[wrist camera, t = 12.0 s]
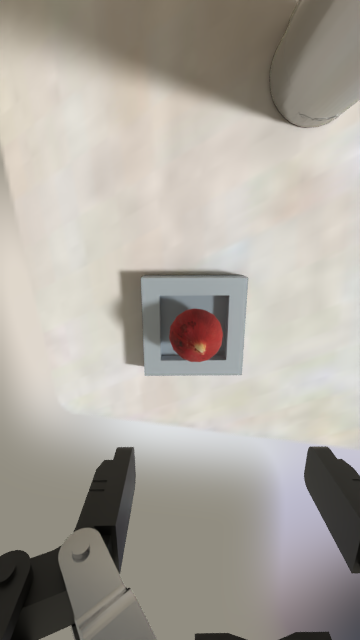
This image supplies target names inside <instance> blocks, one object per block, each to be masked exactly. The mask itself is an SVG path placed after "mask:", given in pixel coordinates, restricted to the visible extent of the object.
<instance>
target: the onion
mask: <svg viewBox="0 0 360 640" xmlns="http://www.w3.org/2000/svg"><path fill="white" fill-rule="evenodd" d="M222 337H223V332H222V328H221V324H220V322H219V321H218V319H217V318H216V317H215V316H214V314H212V313H210V312H208V311H206V310H203V309H195V308H194V309H190V310H185V311H184V312H182V313H181V314H179V315H178V316H177V317H176V319H175V320H174V322H173V323H172V325H171V326H170V334H169V339H170V342H171V345H172V347H173V350H174V351H175V352H176V353H177V354H178V355H179V356H180V357H181V358H183V359H185V360H187V361H190V362H202V361H206V360H209V359H210V358H212V357H213V356H214V355H215V354H216V353H217V352H218V350H219V348H220V346H221V345H222Z"/></svg>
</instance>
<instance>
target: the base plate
mask: <svg viewBox="0 0 360 640" xmlns="http://www.w3.org/2000/svg"><path fill="white" fill-rule="evenodd" d="M247 289H248V277H246V276H243V275H144V276H142V277H141V293H142V318H143V344H144V369H145V376H172V375H242V364H243V349H244V334H245V319H246V304H247ZM194 308H195V309H203V310H206V311H208V312H210V313H212V314H214V316H215V317H216V318H217V319H218V321H219V322H220V324H221V328H222V332H223V337H222V345H221V346H220V348H219V350H218V352H217V353H216V354H215V355H214V356H213V357H212V358H210V359H209V360H206V361H202V362H190V361H187V360H185V359H183V358H181V357H180V356H179V355H178V354H177V353H176V352H175V351H174V350H173V347H172V345H171V342H170V339H169V334H170V326H171V325H172V323H173V322H174V320H175V319H176V317H177V316H178V315H179V314H181V313H182V312H184V311H185V310H190V309H194Z"/></svg>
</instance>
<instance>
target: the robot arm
mask: <svg viewBox="0 0 360 640" xmlns="http://www.w3.org/2000/svg"><path fill="white" fill-rule="evenodd" d="M270 90H271V94H272V97H273V101H274V103H275V105H276V107H277V109H278V111H279V112H280V113H281V114H282V115H283V116H284V118H286V119H287V120H288V121H290V122H291V123H293V124H295V125H298V126H300V127H308V128H311V127H319V126H322V125H325V124H327V123H329V122H331V121H332V120H334V119H336V118H337V117H338V116H340V115H341V114H342V113H343V112H345V111H346V110H347V109H349V108H350V107H351V106H352V105H354V104H355V103H356V102H357V101H359V100H360V0H299V2H298V4H297V6H296V8H295V10H294V11H293V13H292V15H291V17H290V20H289V26H288V28H287V30H286V32H285V34H284V36H283V38H282V40H281V42H280V44H279V46H278V48H277V50H276V52H275V54H274V57H273V61H272V64H271V69H270ZM135 477H136V474H135V456H134V448H133V447H118V448H117V449H116V452H115V456H114V459H113V460H104V461H103V462H102V464H101V465H100V466H99V467H98V468H97V469H96V472H95V475H94V478H93V481H92V483H91V486H90V489H89V492H88V495H87V497H86V500H85V503H84V506H83V509H82V511H81V514H80V517H79V520H78V523H77V525H76V528H75V530H74V532H73V533H72V534H71V535H70V536H69V537H67V539H66V540H65V541H64V543H63V544H62V545H61V546H60V547H59V548H57V549H55V550H53V551H50V552H47V553H45V554H42V555H39V556H36V557H33V558H30V557H29V555H28V554H27V553H26V552H24V551H21V550H15V551H11V552H8V553H5V554H3V555H2V556H0V640H39V639H41V638H43V637H45V636H48V635H50V634H52V633H55V632H57V631H59V630H61V629H64V628H66V627H68V626H70V627H71V630H72V634H73V638H74V640H157V639H156V637H155V635H154V633H153V630H152V629H151V626H150V625H149V622H148V620H147V618H146V616H145V614H144V612H143V610H142V608H141V606H140V604H139V602H138V600H137V598H136V596H135V594H134V593H133V591H132V590H131V589H130V588H128V589H127V588H126V587H125V585H124V583H123V581H122V579H121V577H120V571H121V565H122V559H123V553H124V547H125V542H126V536H127V530H128V524H129V519H130V513H131V507H132V501H133V495H134V490H135ZM304 478H305V483H306V487H307V489H308V491H309V493H310V495H311V497H312V499H313V501H314V502H315V504H316V506H317V508H318V510H319V512H320V514H321V516H322V518H323V520H324V521H325V523H326V525H327V527H328V529H329V531H330V533H331V535H332V537H333V539H334V540H335V542H336V544H337V546H338V548H339V550H340V552H341V554H342V555H343V557H344V559H345V561H346V563H347V565H348V567H349V569H350V571H351V573H360V476H359V475H358V473H357V472H356V471H355V470H354V468H353V467H351V466H350V465H349V464H347V463H346V462H345V461H344V460H342V459H337V458H336V457H335V455H334V454H333V453H332V451H331V450H330V449H329V448H328V447H309V449H308V453H307V459H306V466H305V472H304ZM195 640H246V639H244V638H241V637H238V636H235V635H232V634H229V633H204V634H195ZM280 640H332V639H331V636H330V634H329V632H296V633H293V634H291V635H289V636H287V637H284V638H282V639H280Z"/></svg>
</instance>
